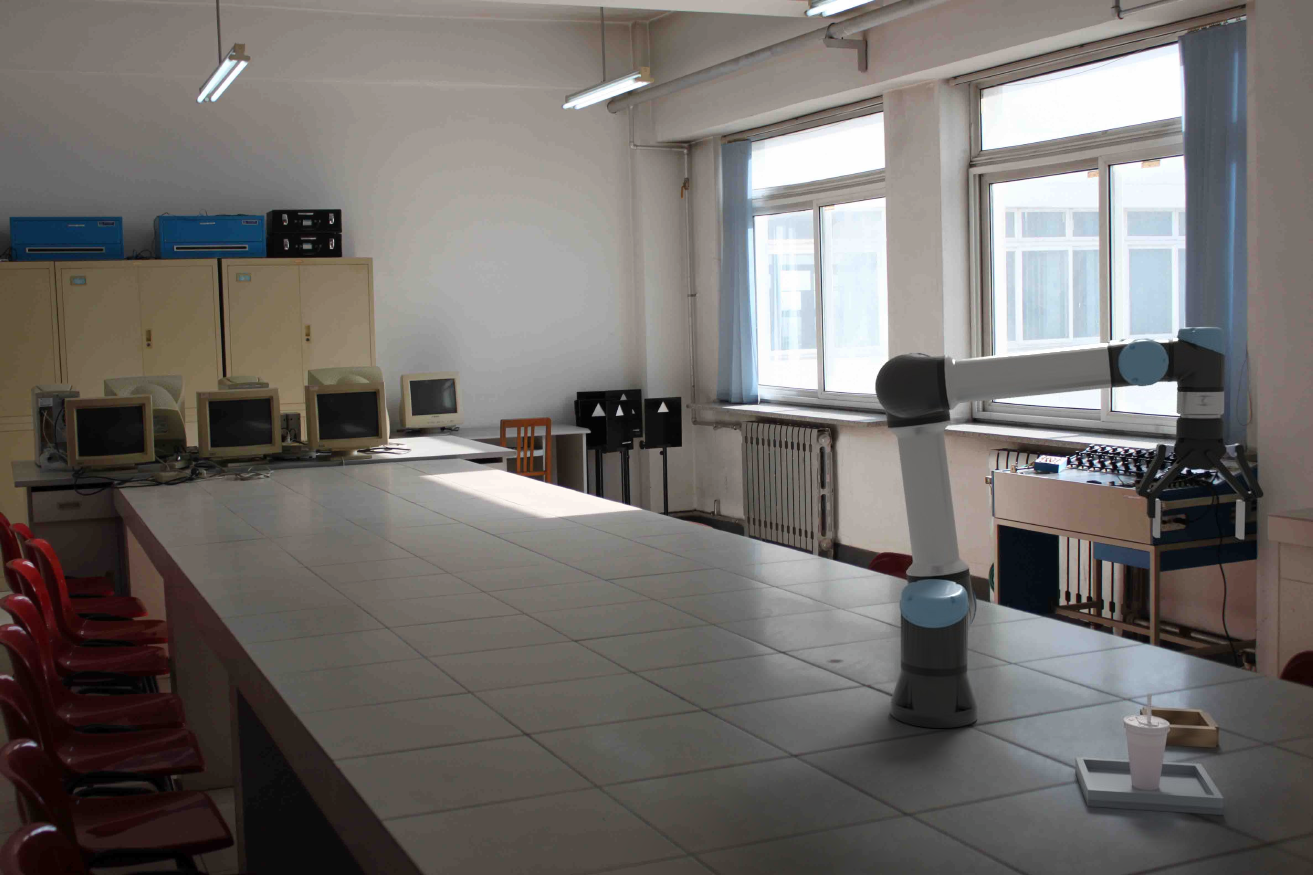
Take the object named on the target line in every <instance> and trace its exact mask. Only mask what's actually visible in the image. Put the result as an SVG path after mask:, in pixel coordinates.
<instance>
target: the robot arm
mask: <svg viewBox="0 0 1313 875" xmlns="http://www.w3.org/2000/svg"><path fill="white" fill-rule="evenodd" d="M1225 333H1226V332H1224V330H1223V329H1222V328H1221V327H1217V326H1200V327H1199V326H1197V327H1196V326H1195V327H1181V328H1179V329H1178V331H1177V335H1176V338H1169V339H1159V338H1158V339H1154V338H1153V339H1150V338H1138V339H1129V338H1128V339H1126V338H1121V339H1117V340H1116V339H1113V340H1112V339H1111V340H1108V341H1107V342H1106V343H1098V344H1088V345H1080V346H1079V345H1078V346H1072V347H1071V346H1070V347H1063V348H1062V347H1061V348H1053V349H1052V348H1051V349H1043V350H1035V351H1027V352H1025V351H1024V352H1016V353H1015V352H1014V353H1007V354H999V355H998V354H996V355H990V356H989V355H988V356H980V357H970V358H962V359H953V358H952V357H951V356H949V355H947V354H945V355H944V354H943V355H935V356H934V355H933V356H932V355H929V354H926V353H922V352H913V353H912V352H910V353H906V354H905V353H903V354H900V355H897V356H894V357H892V358H890V359H889V360H887V361H886V362H885V363H884V364H883V365H882V367H880V369H879V371H878V373H877V374H876V379H875V383H874V384H875V386H874V387H875V388H874V390H875V394H876V398H877V400H878V402H879V404H880V405H881V407H882V408H883V409H884V410H885V417H886V424H887V430H889V431H890V432H891V433H893V435H895V437H896V438H897V446H898V453H899V454H898V455H899V460H900V468H901V469H900V472H901V475H902V476H901V477H902V484H903V493H904V499H905V500H904V502H905V507H906V508H905V510H906V517H907V526H908V531H909V532H908V534H909V539H910V540H909V541H910V549H911V550H910V551H911V555H912V562H911V563H912V564H911V565H910V566H908V567H907V568H908V569H907V570H906V571H905V573H906V582H907V584H906V585H905V586H904V587H903V589H902V590H901V595H900V601H899V609H900V610H899V611H900V671H899V675H898V678H897V681H896V683H895V687H894V690H893V693H892V695H891V698H890V715H891V717H893V719H895V720H897V721H899V722H901V723H905V724H907V725H910V726H916V727H924V728H931V729H933V728H934V729H944V728H945V729H949V728H959V727H964V726H969V725H972V724H974V722H976V721H977V720H978V703H977V699H976V697H975V694H974V691H973V687H972V684H971V682H970V678H969V674H968V661H969V660H968V659H969V658H968V657H969V656H968V648H969V647H968V646H969V644H968V642H969V639H968V638H969V630H970V627H971V626H972V623H973V622H974V620H975V617H976V615H977V614H976V612H977V606H978V604H977V597H976V594H975V591H974V590H973V587H972V578H971V574H970V573H971V572H970V567H969V564H968V563H967V562H966V561H964V560H963V559H962V558H961V557H960V552H959V551H960V550H959V544H958V536H957V529H956V528H957V527H956V520H955V512H954V511H955V510H954V505H953V503H954V502H953V496H952V489H951V480H950V473H949V464H948V463H949V462H948V456H947V448H946V440H945V430H946V429H947V427H948V426H949V424H950V423H951V412H950V411H952V410H954V409H955V408H956V407H957V406H958V405H960V404H965V403H973V402H974V403H975V402H984V401H993V400H994V401H995V400H1003V399H1014V398H1023V397H1033V396H1041V395H1042V396H1043V395H1053V394H1054V395H1055V394H1062V393H1071V392H1081V391H1090V390H1101V389H1102V390H1103V389H1112V388H1124V387H1125V388H1126V387H1134V386H1136V387H1137V386H1138V387H1147V386H1153V385H1154V384H1157V383H1166V382H1167V383H1172V382H1173V383H1176V385H1177V387H1176V414H1177V415H1179V417H1177V418H1176V426H1175V428H1176V429H1175V430H1176V432H1175V433H1176V434H1175V435H1176V436H1175V443H1174V445H1169V444H1163V443H1161V442H1158V443H1156V446H1155V453H1154V457H1153V458H1152V461H1151V462H1150V464H1149V466H1148V467H1147V469H1146V470H1145V473H1144V474H1143V476H1142V479H1141V481H1140V482H1139V483H1138V486H1137V488H1136V489H1135V493H1136V494H1137V496H1139V497H1142V498H1145V499H1146V516H1147V517H1148V519H1152V536H1153V537H1154V538H1156V539H1160V538H1161V510H1162V509H1161V506H1162V503H1161V502H1162V501H1161V500H1160V499H1159V498H1158V497H1159V496H1160V495H1161V494H1162V493H1163V492H1164V491H1165V489H1166V488H1168V486H1169V485H1170V484H1171V483H1173V481H1174V480H1175V479H1176V478H1177V477H1178V476H1179V475H1180V474H1181V473H1182V472H1183V471H1184V470H1185V469H1189V470H1191V471H1197V470H1204V471H1210V470H1211V469H1212V470H1213V469H1215V470H1216V471H1217V472H1218V474H1219V475H1220V476H1221V477H1222V478H1223V479H1224V480H1225V481H1226V482H1227V484H1229V485H1230V487H1231V488H1232V489H1233V490H1234V491H1235V492H1236V494H1237V495H1238V496H1239V497H1240V498H1241V499H1236V501H1235V502H1236V504H1235V538H1237V539H1239V540H1245V524H1246V523H1245V520H1251V518H1252V502H1253V501H1254V500H1256V499H1260V498H1261V499H1262V498H1263V497H1264V492H1263V489H1262V488H1261V486H1260V484H1259V482H1258V480H1257V479H1256V477H1255V475H1254V472H1253V471H1252V469H1251V467H1250V465H1249V463H1248V461H1247V459H1246V456H1245V448H1244V445H1243V444H1240V443H1239V442H1238V443H1233V444H1230V445H1226V444H1225V440H1224V437H1225V436H1224V433H1225V432H1224V429H1225V428H1224V427H1225V425H1224V424H1225V419H1224V418H1223V417H1221V415H1223V414H1225V382H1226V381H1225V380H1226V379H1225V378H1226V356H1227V352H1226V338H1225V337H1226V334H1225ZM1172 452H1173V454H1174V455H1175V456H1176V457H1177V460H1176V461H1175V462H1173V464H1172V465H1171V467H1170V468H1169V469H1168V470H1167V471H1166V472H1165V473H1164V474H1163V476H1161V478H1159V480H1157V482H1156V483H1155V484H1154V485H1153V486H1152V487H1151V489H1150V486H1151V484H1152V483H1153V482H1154V479H1155V477H1156V475H1157V474H1158V472H1159V471H1160V468H1161V466H1162V465H1163V463H1164V461H1165V459H1166V458H1168V457H1169V456H1170V454H1172ZM1226 453H1228V454H1229V456H1230V457H1232V458H1234V461H1235V463H1236V465H1237V466H1238V469H1239V470H1240V473H1241V474H1242V476H1243V478H1244V481H1245V482H1246V484H1247V487H1248V488H1249V490H1250V491H1248V490H1247V489H1246V488H1245V487H1244V486H1243V484H1242V483H1241V482H1240V481H1239V480H1238V479H1237V478H1236V477H1235V475H1233V473H1232V472H1231V471H1230V470H1229V469H1228V467H1227V466H1226V465H1225V464H1224V463H1223V462H1222V461H1221V460H1222V458H1223V457H1224V456H1225V455H1226ZM1149 489H1150V490H1149Z"/></svg>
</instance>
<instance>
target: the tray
mask: <svg viewBox="0 0 1313 875" xmlns="http://www.w3.org/2000/svg"><path fill="white" fill-rule="evenodd" d="M1074 760H1075V762H1074V764H1075V765H1074V767H1075V769H1074V770H1075V772H1074V773H1075V776H1076V778H1077V781H1078V784H1079V786H1080V790H1081V792H1082V794H1083V796H1084V797H1083V798H1084V800H1085V803H1086V806H1087V807H1093V808H1109V809H1110V808H1111V809H1126V810H1141V811H1157V812H1168V813H1169V812H1171V813H1187V814H1203V815H1217V816H1224V814H1225V813H1224V812H1225V811H1224V810H1225V809H1224V808H1225V807H1224V805H1225V797H1224V796H1223V795H1222V793H1221V791H1220V790H1219V789H1218V787H1217V785H1215V783H1214V781H1213V780H1212V778H1211V777H1210V776H1209V774H1208V773H1207V771H1206V769H1205V768H1204V766H1203V765H1202V764H1201V763H1192V762H1176V761H1175V762H1173V761H1163V764H1162V770H1161V777H1160V783H1159V788H1158V789H1156V790H1142V789H1138V788H1135V787H1134V786H1132V782H1131V773H1130V764H1129V759H1123V758H1122V759H1120V758H1102V757H1087V756H1086V757H1085V756H1075V758H1074Z"/></svg>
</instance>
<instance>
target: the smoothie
mask: <svg viewBox="0 0 1313 875" xmlns="http://www.w3.org/2000/svg"><path fill="white" fill-rule="evenodd" d="M1146 707H1147V715H1140V714H1133V715H1127V716H1125V717H1124V718H1123V719H1122V720H1123V724H1122V726H1123V728H1124V729H1125V737H1126V745H1127V754H1128V760H1129V764H1130V773H1131V782H1132V786H1134V787H1135V788H1138V789H1142V790H1156V789H1158V788H1159V783H1160V777H1161V770H1162V764H1163V762H1164V756H1165V751H1166V746H1167V745H1166V738H1167V733H1168V732H1169V731H1170V724H1169V722H1168V721H1166V720H1164V719H1162V718H1159V717H1154V716H1151V707H1152V693H1151V692H1147V699H1146Z"/></svg>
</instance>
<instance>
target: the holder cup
mask: <svg viewBox="0 0 1313 875" xmlns="http://www.w3.org/2000/svg"><path fill="white" fill-rule="evenodd" d="M1139 715H1147V706H1142V708H1140V709H1139ZM1151 716H1154V717H1159V718H1162V719H1164V720H1166V721H1168V722H1169V724H1170V731H1169V732H1168V733H1167V738H1166V745H1165V746H1168V745H1169V746H1181V747H1182V746H1186V747H1199V748H1200V747H1201V748H1217V746H1219V744H1220V743H1219V742H1220V740H1219V738H1220V727H1219V725H1218V724H1217V723H1216V722H1215V721H1216V720H1214V718H1213V717H1212V716H1211V715H1210V714H1209V712H1208V711H1203V710H1202V709H1201V708H1200V709H1197V708H1196V709H1195V708H1178V707H1177V708H1173V707H1158V706H1156V707H1155V706H1151Z"/></svg>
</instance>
